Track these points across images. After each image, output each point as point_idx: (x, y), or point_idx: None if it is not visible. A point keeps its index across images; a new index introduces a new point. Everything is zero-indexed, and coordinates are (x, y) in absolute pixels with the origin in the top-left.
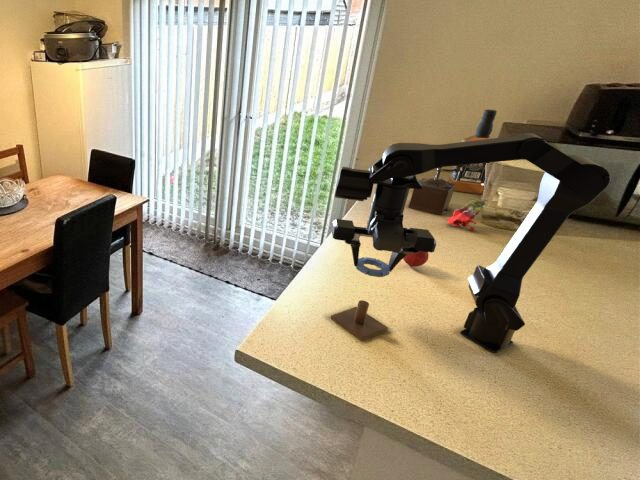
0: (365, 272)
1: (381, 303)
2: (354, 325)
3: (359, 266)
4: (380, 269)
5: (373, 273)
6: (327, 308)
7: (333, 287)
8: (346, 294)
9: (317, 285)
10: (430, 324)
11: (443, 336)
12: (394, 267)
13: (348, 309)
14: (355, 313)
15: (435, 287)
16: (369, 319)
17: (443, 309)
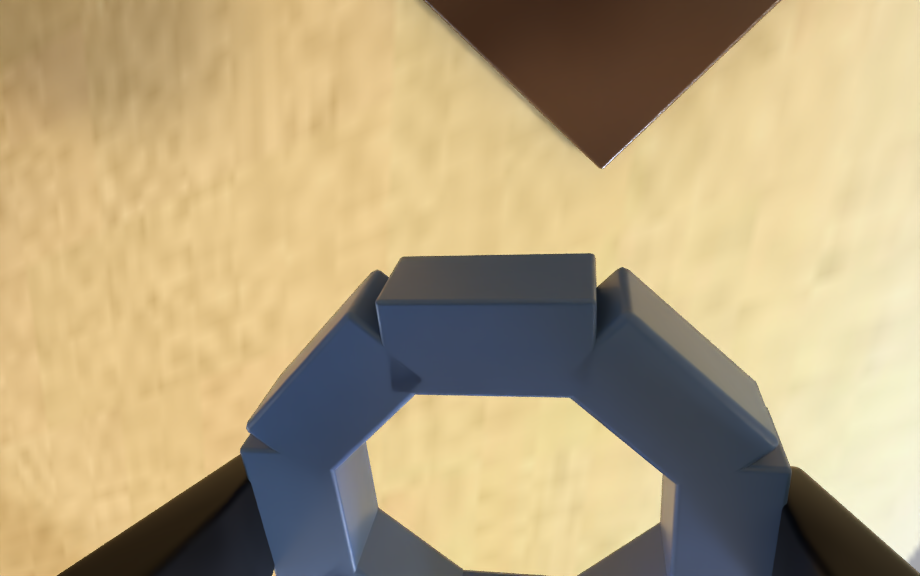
0: (648, 298)
1: None
2: None
3: (764, 422)
4: (387, 412)
5: (512, 280)
6: (863, 77)
7: None
8: None
9: (874, 405)
10: (103, 171)
11: (18, 52)
12: (172, 500)
13: (678, 96)
14: (623, 51)
15: None
16: (508, 1)
17: (59, 368)
